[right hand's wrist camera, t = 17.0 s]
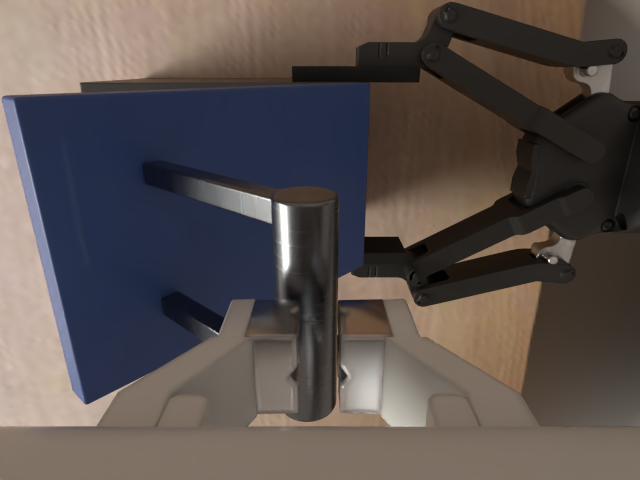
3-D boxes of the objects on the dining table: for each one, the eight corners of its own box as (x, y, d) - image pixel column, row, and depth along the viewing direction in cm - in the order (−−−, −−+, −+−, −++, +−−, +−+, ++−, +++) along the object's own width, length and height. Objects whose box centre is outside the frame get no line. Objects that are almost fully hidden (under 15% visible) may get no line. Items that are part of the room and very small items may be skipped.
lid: (72, 391, 15) (226, 569, 10) (-1, 95, 12) (176, 118, 6) (348, 260, 25) (498, 311, 20) (353, 82, 22) (534, 86, 17)
